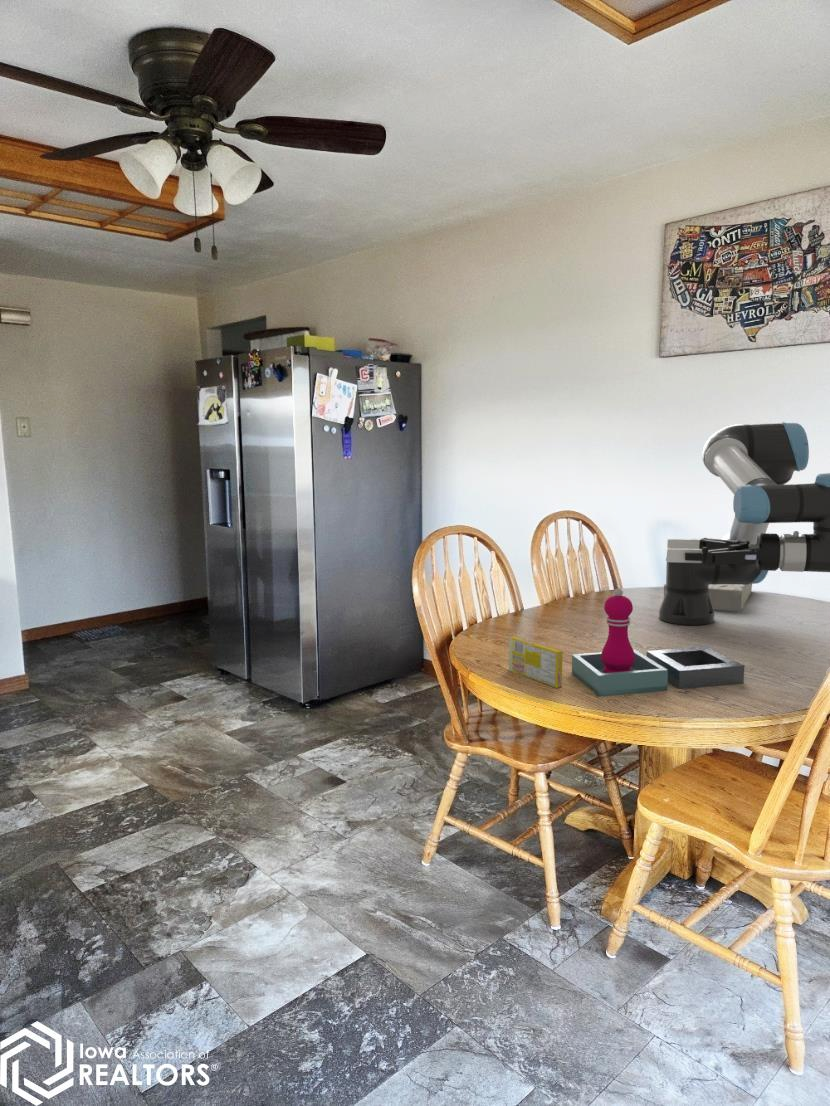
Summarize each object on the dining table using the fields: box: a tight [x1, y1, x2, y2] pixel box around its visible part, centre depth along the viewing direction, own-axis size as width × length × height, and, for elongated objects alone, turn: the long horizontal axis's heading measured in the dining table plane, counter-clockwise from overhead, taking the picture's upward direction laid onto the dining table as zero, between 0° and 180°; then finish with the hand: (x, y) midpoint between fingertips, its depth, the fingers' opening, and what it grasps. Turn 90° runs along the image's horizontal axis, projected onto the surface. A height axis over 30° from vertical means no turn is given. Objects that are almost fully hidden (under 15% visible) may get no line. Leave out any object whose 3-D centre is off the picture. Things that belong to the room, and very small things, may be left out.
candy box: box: [508, 635, 564, 689], centre depth 162 cm, size 16×2×8 cm, turn 33°
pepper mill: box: [601, 588, 635, 673], centre depth 157 cm, size 7×7×20 cm
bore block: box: [646, 645, 745, 690], centre depth 161 cm, size 15×15×4 cm
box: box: [663, 583, 753, 613], centre depth 234 cm, size 23×8×32 cm
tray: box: [571, 649, 668, 697], centre depth 158 cm, size 15×15×4 cm
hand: (667, 550), depth 151 cm, fingers open, 13 cm apart
